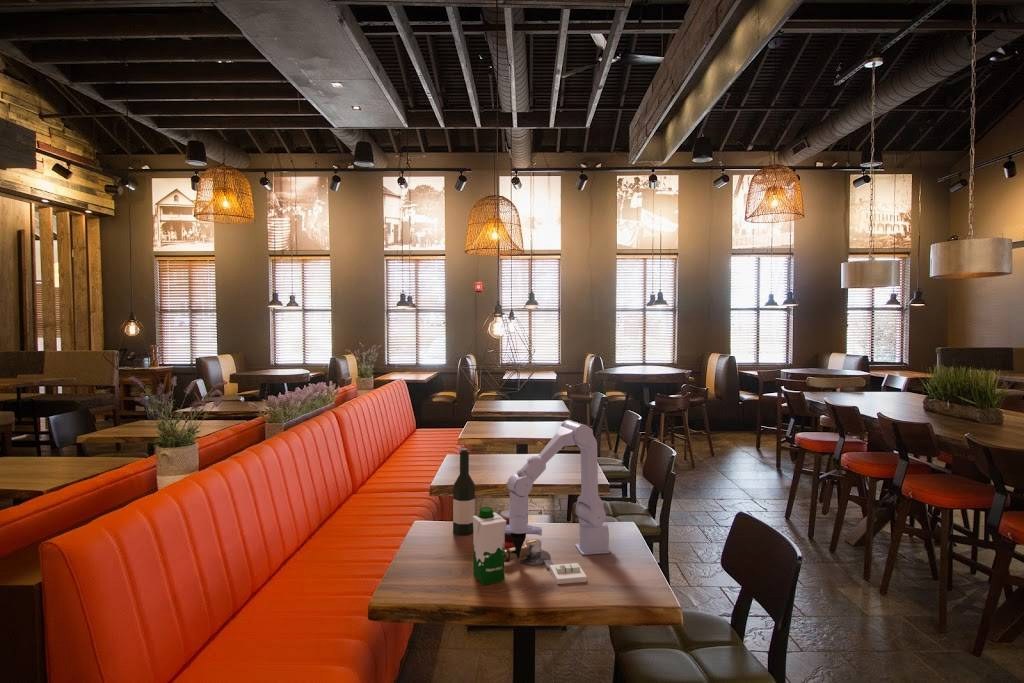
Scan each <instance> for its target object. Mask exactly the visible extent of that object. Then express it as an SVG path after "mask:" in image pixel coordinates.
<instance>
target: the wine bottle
mask: <svg viewBox="0 0 1024 683" xmlns="http://www.w3.org/2000/svg"><path fill="white" fill-rule="evenodd" d="M469 467H470V450H468V448H465V447H461V448H460V450H459V475H458V477H457V478H456V480H455V482H454V483H453V486H452V487H453V488H452V490H453V491H452V492H453V493H452V494H453V495H452V507H453V508H452V534H453V535H456V536H459V537H464V536H465V537H469V536H471V535H473V516H476V483H475V482H474V480H473V479H472V477H471V475H470V473H469V472H470V468H469Z"/></svg>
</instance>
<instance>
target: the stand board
mask: <svg viewBox="0 0 1024 683" xmlns="http://www.w3.org/2000/svg"><path fill="white" fill-rule="evenodd" d="M548 571H549V572H550V573H551V575H552V576H551V577H553V579H554V582H555V583H556V585H562V584H563V585H564V584H573V583H574V584H576V583H585V582H587V581H588V576H587V575H586V573H585V572H584V570H583V569H582V567H581V566H580V564H579V562H574V563H560V564H553V565H549V570H548ZM587 583H588V582H587Z"/></svg>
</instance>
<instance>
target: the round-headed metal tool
mask: <svg viewBox="0 0 1024 683" xmlns="http://www.w3.org/2000/svg"><path fill="white" fill-rule="evenodd" d="M541 550H542V540H540V539H537V538H528V539H527V540H525V544H523V545H522V548H521V551H520V556H519V558H523V557H528V558H531V559H534V558H540V557H541ZM519 558H517V553H516V549H515V547H514V548H510V549H506V548H504V563H510V562H511V561H514V560H517V559H519Z"/></svg>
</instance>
